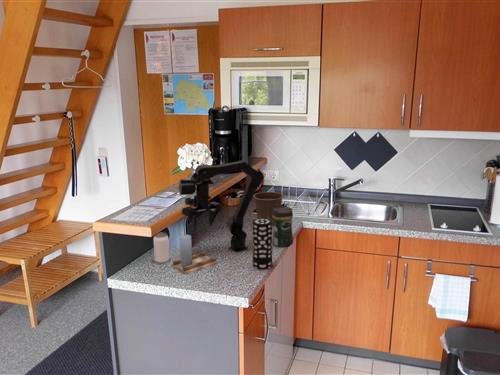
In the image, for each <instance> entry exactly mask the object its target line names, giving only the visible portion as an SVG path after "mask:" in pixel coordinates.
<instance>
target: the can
mask: <svg viewBox="0 0 500 375" xmlns="http://www.w3.org/2000/svg"><path fill="white" fill-rule="evenodd" d="M155 234H156V235H155ZM155 234H154V235H155V236H154V235H153V236H154V237H153V252H154V261H155V262H156V263H159V264H164V263H167V262H169V260H170V243H169V236H168V234H167V232H158V234H157V233H155Z"/></svg>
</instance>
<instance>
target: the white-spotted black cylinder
mask: <svg viewBox="0 0 500 375" xmlns="http://www.w3.org/2000/svg"><path fill="white" fill-rule="evenodd" d="M251 223H252V267H253V268H254V269H257V270H260V271H261V270H262V271H264V270H269V269H271V268H272V267H273V226H272V220H270V219H266V218H259V219H257V218H255V219H253V220H252V222H251Z"/></svg>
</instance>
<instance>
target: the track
mask: <svg viewBox="0 0 500 375" xmlns="http://www.w3.org/2000/svg"><path fill="white" fill-rule="evenodd" d="M217 264H218V261H217V257H215V256H214V257H209V256H208V255H206V252H205V251H202V252H199V253H195V254H192V265H188V266H185V267H181V258H178V259H176V260H173V261H172V264H171V267H173V268H174V269H175V270H177V271H179V272H181V273H182V274H184V275H188V274H191V273H194V272H198V271H200V270H203V269H206V268H209V267H213V266H214V265H217Z"/></svg>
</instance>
